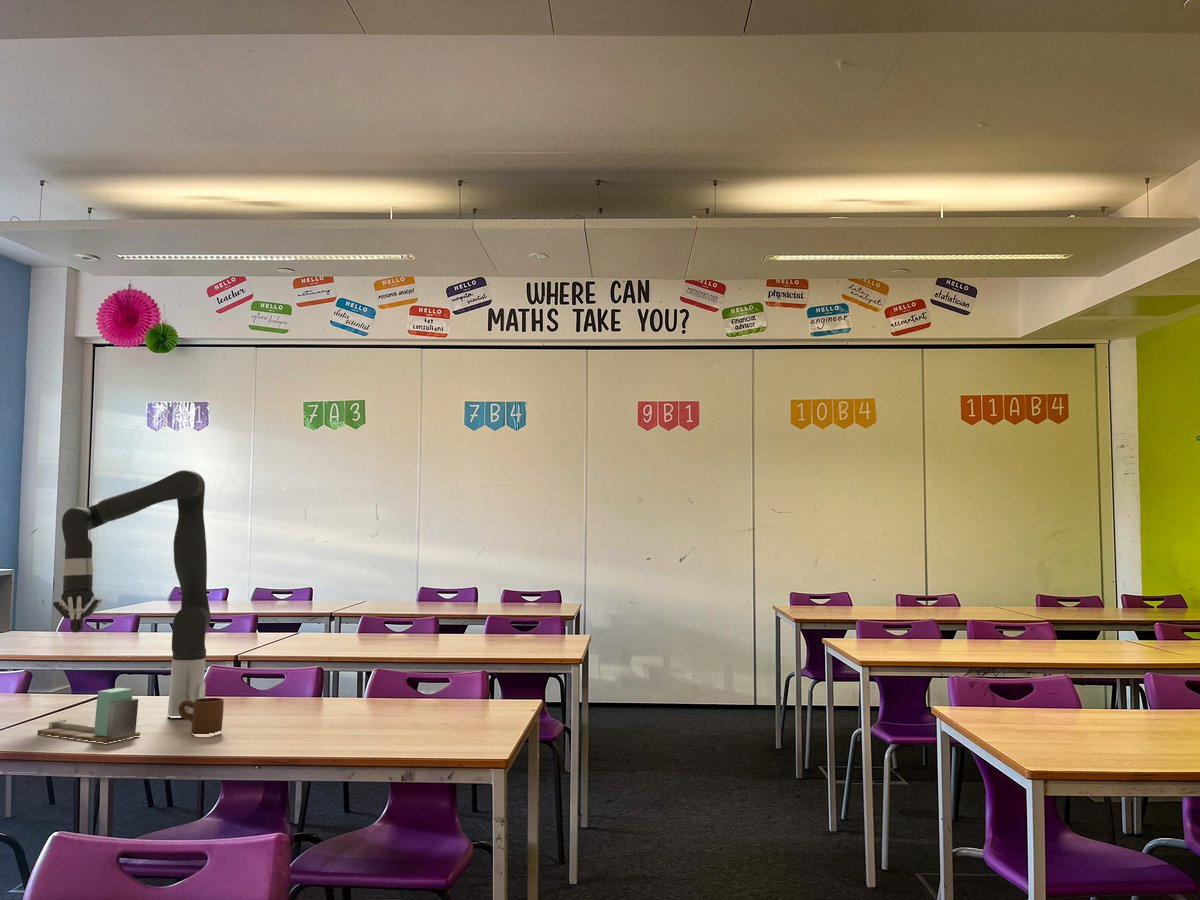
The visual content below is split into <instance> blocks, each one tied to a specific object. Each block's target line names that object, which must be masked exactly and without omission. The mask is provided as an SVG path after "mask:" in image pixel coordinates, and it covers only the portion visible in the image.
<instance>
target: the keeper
mask: <svg viewBox="0 0 1200 900" xmlns="http://www.w3.org/2000/svg"><path fill="white" fill-rule="evenodd" d="M133 690H134V689H133V688H125V687H115V688H109V689H108V688H107V689H103V690H98V691H97V697H96V707H95V708H96V709H95V710H96V711H95V717H94V718H95V720H94V726H95V728H94V735H100V736H106V735H107V724H108V714H109V703H110V702H115V701H121V700H127V699H133V693H134V691H133Z"/></svg>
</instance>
